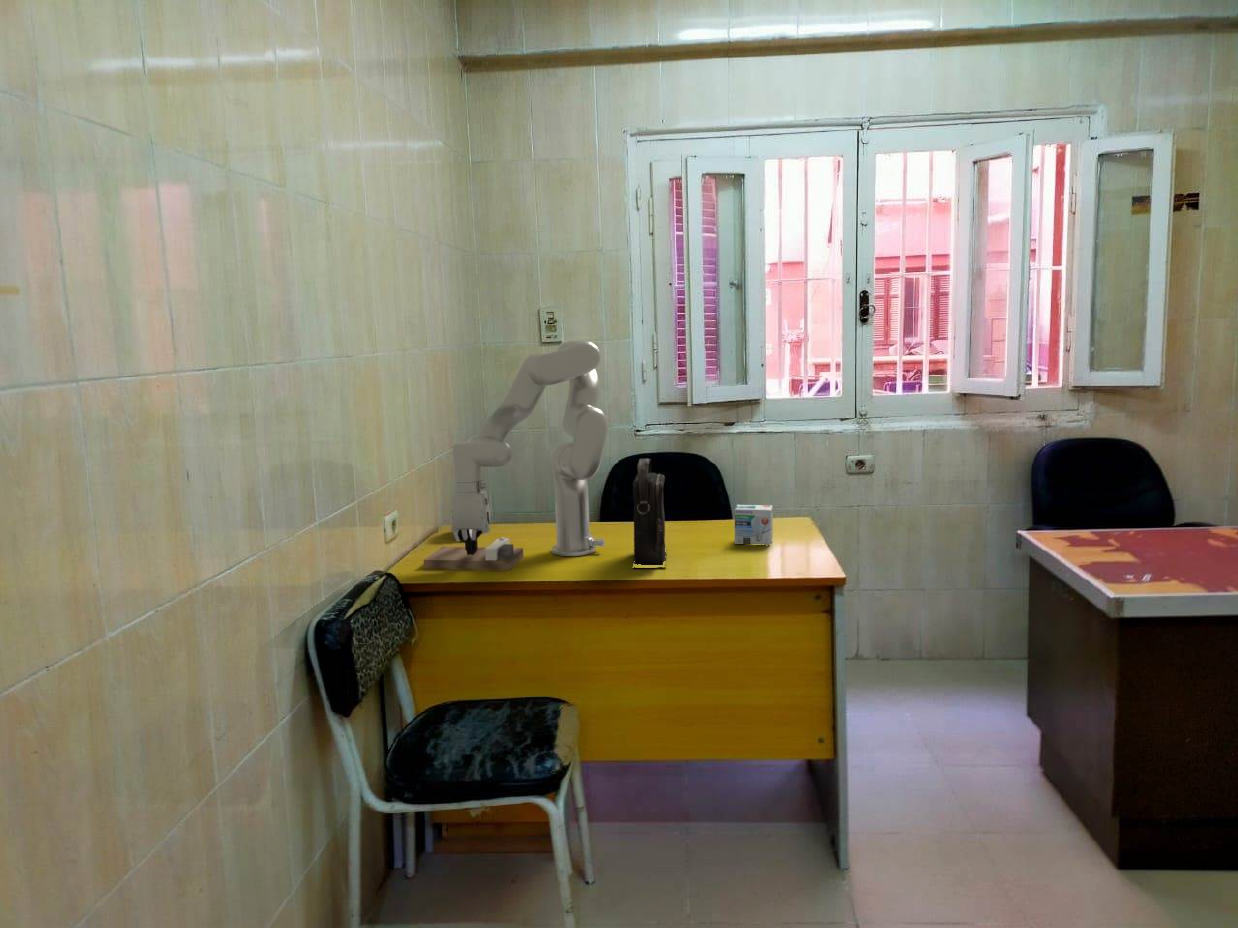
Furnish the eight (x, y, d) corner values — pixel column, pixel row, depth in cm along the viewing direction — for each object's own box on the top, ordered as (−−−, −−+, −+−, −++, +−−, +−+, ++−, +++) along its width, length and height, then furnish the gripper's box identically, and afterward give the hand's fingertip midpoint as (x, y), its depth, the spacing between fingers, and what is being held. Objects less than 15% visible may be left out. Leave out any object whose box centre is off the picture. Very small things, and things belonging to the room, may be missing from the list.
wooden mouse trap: (523, 556, 248) (522, 537, 247) (508, 570, 234) (507, 550, 233) (442, 555, 252) (441, 536, 251) (424, 568, 238) (422, 549, 237)
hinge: (472, 542, 267) (459, 511, 266) (458, 547, 267) (445, 517, 266) (486, 529, 283) (475, 500, 282) (473, 534, 284) (461, 505, 283)
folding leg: (499, 548, 247) (498, 536, 246) (509, 548, 246) (508, 536, 246) (485, 560, 235) (485, 547, 234) (496, 560, 234) (495, 548, 234)
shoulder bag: (635, 548, 254) (632, 452, 249) (666, 547, 253) (664, 452, 249) (631, 569, 231) (628, 465, 227) (665, 569, 231) (663, 464, 226)
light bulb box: (734, 545, 254) (733, 508, 252) (736, 539, 260) (736, 504, 259) (771, 546, 251) (771, 509, 250) (773, 540, 258) (773, 504, 256)
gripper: (499, 485, 238) (502, 550, 240) (447, 484, 240) (450, 549, 243) (491, 490, 230) (494, 557, 233) (437, 489, 233) (440, 556, 236)
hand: (471, 553), depth 238 cm, fingers closed
